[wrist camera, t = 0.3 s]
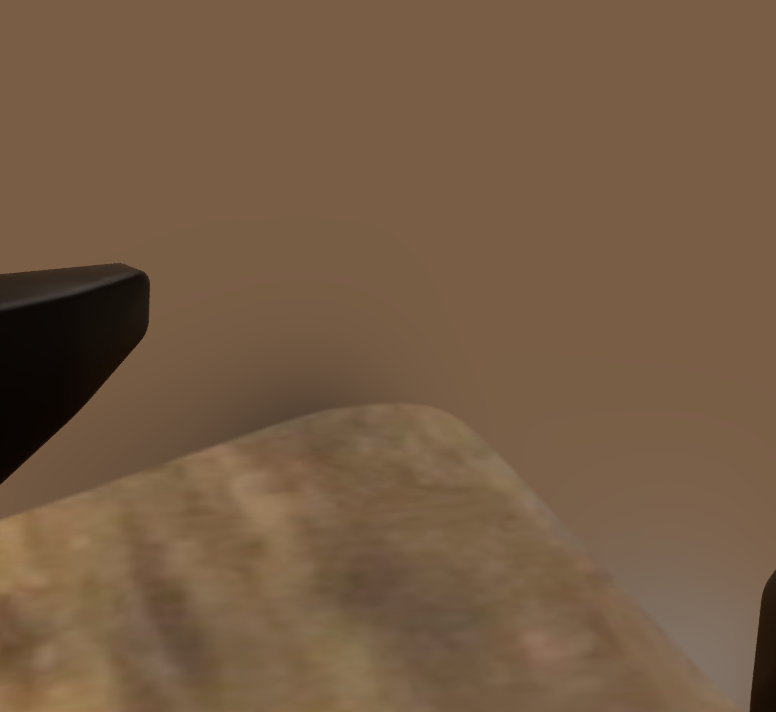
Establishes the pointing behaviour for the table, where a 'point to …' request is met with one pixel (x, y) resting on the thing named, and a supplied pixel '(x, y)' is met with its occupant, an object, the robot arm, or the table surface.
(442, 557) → the table surface
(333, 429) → the table surface
